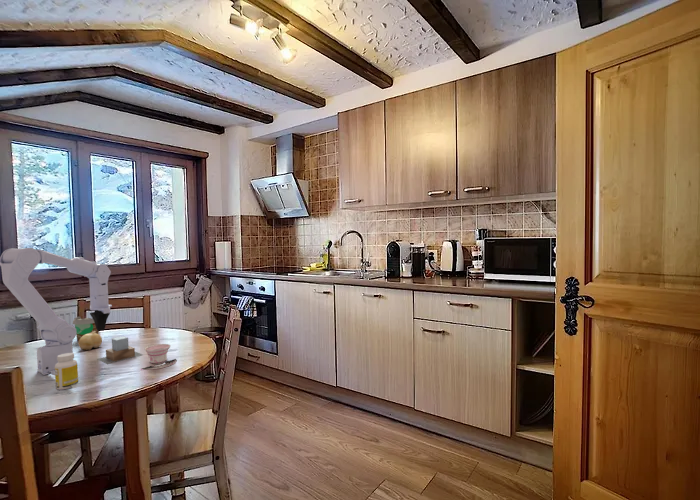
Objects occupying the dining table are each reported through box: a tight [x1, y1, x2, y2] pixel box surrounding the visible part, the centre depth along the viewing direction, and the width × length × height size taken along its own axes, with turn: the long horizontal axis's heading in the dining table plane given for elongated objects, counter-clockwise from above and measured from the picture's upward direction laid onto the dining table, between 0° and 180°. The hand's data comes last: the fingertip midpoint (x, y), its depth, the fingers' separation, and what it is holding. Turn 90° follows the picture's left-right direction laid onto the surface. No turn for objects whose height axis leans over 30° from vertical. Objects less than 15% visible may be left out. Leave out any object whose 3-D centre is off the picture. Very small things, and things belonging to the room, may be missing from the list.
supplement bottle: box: [54, 352, 79, 391], centre depth 109 cm, size 5×5×10 cm
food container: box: [72, 316, 99, 342], centre depth 162 cm, size 12×6×10 cm, turn 73°
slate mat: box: [96, 351, 144, 365], centre depth 134 cm, size 12×10×1 cm
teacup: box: [141, 343, 177, 371], centre depth 128 cm, size 12×12×6 cm
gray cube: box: [111, 335, 130, 351], centre depth 134 cm, size 4×4×4 cm
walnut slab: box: [105, 345, 136, 361], centre depth 134 cm, size 7×7×3 cm
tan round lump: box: [77, 331, 103, 351], centre depth 149 cm, size 8×8×7 cm
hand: (100, 330), depth 139 cm, fingers closed
